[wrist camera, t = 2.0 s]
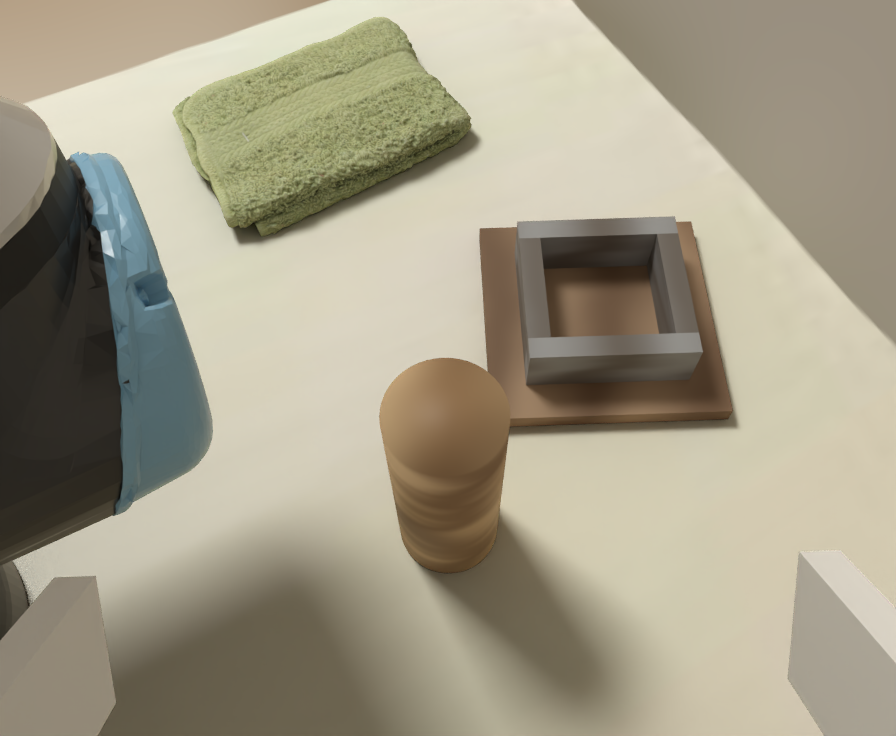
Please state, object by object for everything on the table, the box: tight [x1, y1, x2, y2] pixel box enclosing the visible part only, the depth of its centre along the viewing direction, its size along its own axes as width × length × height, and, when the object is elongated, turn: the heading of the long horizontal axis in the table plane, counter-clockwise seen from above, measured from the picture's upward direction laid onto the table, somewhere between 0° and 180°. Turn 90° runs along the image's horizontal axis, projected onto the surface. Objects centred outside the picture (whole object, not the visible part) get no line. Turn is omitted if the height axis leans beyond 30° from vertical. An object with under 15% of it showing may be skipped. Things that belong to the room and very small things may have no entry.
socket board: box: [480, 217, 733, 426], centre depth 47 cm, size 13×13×4 cm
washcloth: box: [172, 17, 471, 236], centre depth 56 cm, size 13×18×3 cm
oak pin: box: [379, 358, 510, 573], centre depth 38 cm, size 5×5×13 cm
